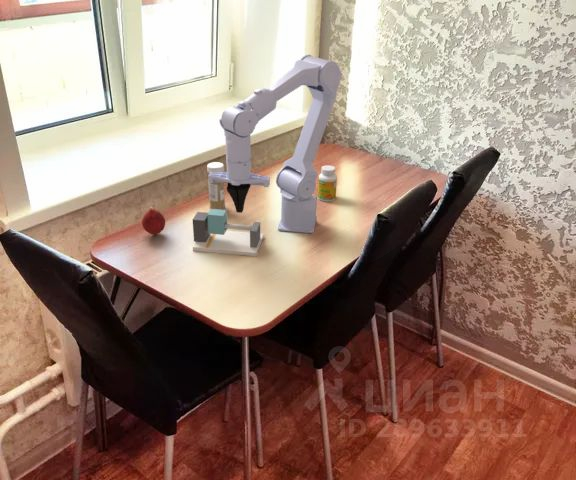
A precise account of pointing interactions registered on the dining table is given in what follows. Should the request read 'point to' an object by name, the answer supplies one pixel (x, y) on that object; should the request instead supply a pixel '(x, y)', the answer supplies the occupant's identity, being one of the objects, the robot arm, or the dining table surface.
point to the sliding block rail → (226, 238)
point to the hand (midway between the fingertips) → (240, 210)
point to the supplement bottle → (327, 184)
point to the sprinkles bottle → (216, 187)
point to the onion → (153, 221)
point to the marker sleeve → (217, 221)
